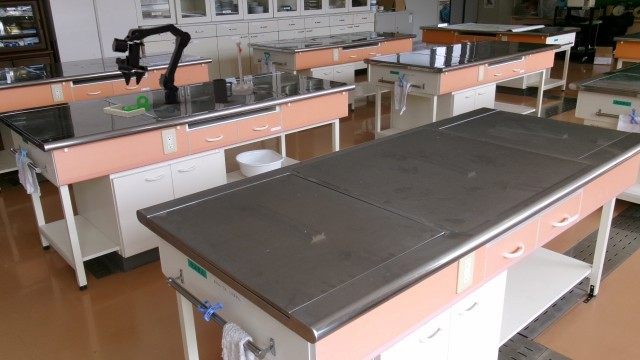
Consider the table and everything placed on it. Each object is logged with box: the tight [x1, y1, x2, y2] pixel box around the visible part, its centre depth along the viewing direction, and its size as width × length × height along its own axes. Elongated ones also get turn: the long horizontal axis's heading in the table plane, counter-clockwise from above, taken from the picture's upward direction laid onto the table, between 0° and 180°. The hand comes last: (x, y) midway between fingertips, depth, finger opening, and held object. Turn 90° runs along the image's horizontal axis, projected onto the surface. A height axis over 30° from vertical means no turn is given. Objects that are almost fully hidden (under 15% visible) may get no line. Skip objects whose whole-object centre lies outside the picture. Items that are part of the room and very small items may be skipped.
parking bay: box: [103, 103, 146, 118], centre depth 263 cm, size 10×19×2 cm, turn 55°
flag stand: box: [232, 39, 254, 96], centre depth 297 cm, size 13×13×30 cm
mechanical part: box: [123, 94, 151, 112], centre depth 267 cm, size 12×6×8 cm, turn 116°
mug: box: [212, 78, 233, 104], centre depth 280 cm, size 10×7×12 cm
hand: (132, 85), depth 269 cm, fingers open, 9 cm apart
